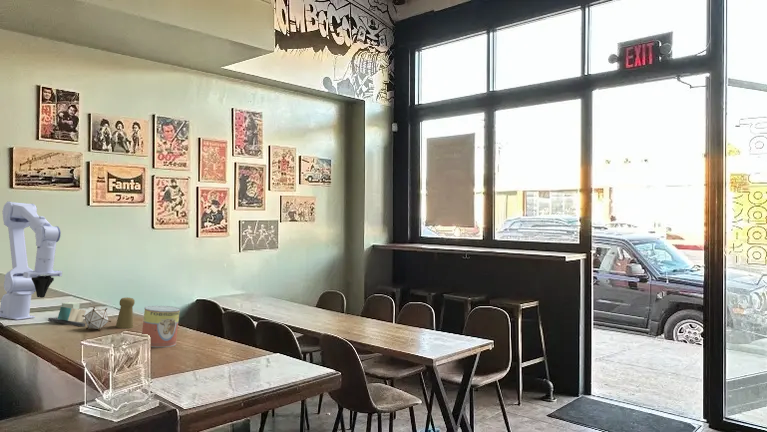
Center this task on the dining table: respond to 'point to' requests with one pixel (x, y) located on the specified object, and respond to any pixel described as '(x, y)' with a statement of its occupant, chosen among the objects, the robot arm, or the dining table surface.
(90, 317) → the game die
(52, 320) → the rubber trip strip
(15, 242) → the robot arm
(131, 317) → the cork
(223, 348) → the dining table surface
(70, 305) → the sage block
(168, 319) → the canned food
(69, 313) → the birch block
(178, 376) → the dining table surface
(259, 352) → the dining table surface
